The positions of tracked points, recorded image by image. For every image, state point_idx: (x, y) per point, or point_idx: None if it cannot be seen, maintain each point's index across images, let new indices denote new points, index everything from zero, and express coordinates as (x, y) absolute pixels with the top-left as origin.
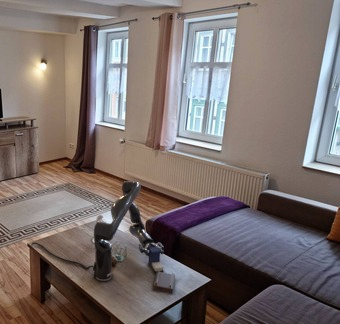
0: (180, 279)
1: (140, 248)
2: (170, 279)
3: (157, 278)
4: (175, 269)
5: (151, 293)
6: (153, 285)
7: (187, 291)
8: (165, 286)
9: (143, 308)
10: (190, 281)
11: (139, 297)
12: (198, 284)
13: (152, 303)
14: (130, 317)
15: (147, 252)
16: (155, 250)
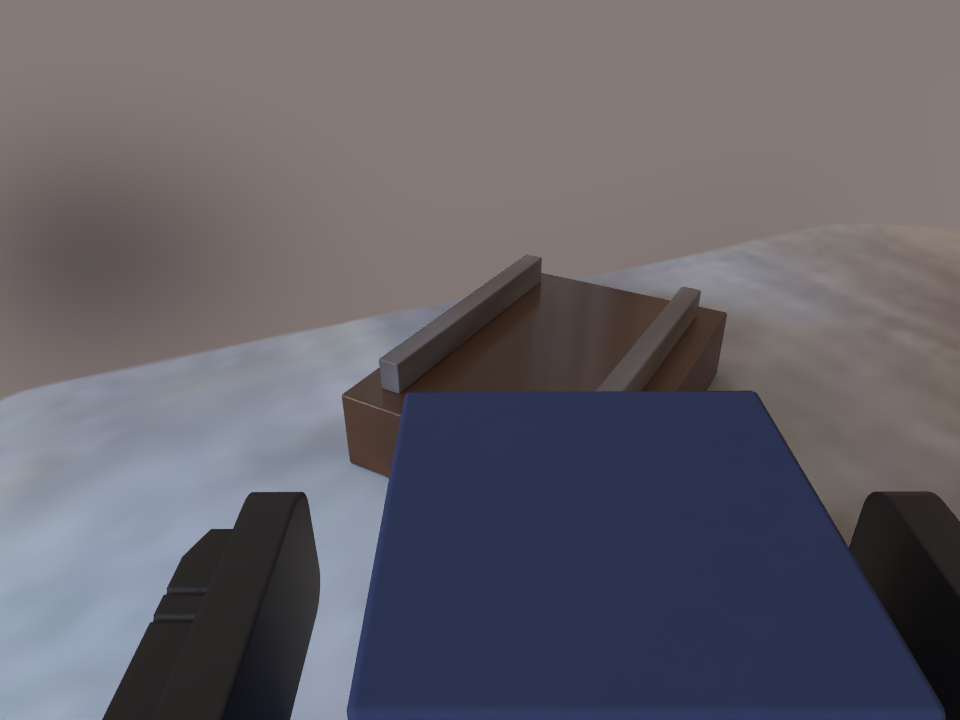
0: (268, 452)
1: None
2: (465, 344)
3: (661, 324)
4: (119, 672)
5: (742, 347)
6: (725, 316)
7: (343, 326)
8: (582, 289)
9: (828, 264)
10: (174, 411)
11: (880, 329)
12: (136, 370)
13: (744, 282)
14: (927, 236)
15: (957, 524)
16: (585, 443)
